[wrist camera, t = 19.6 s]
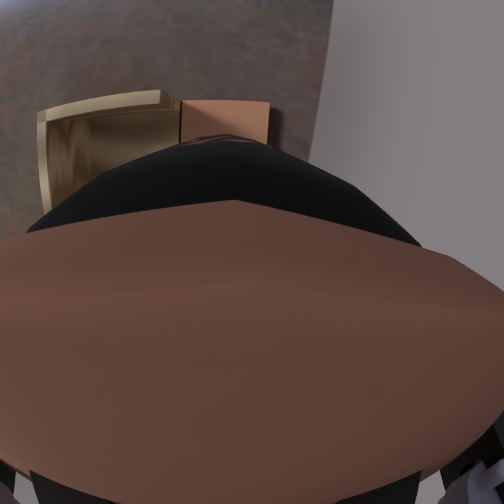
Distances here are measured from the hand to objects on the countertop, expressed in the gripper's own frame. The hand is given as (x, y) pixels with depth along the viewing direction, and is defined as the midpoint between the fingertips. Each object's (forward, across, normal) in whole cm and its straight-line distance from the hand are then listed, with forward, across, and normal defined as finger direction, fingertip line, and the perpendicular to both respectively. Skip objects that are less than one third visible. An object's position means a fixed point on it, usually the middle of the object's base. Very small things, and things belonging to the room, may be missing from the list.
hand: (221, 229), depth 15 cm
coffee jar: (+4, 0, 0) cm, 4 cm away
